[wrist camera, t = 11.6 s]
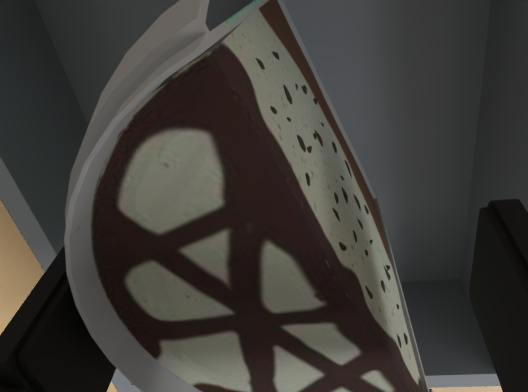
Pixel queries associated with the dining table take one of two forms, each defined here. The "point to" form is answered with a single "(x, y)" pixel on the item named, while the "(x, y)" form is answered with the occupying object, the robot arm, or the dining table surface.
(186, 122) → the food container
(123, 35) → the crate
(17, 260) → the dining table surface
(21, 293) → the dining table surface
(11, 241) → the dining table surface
